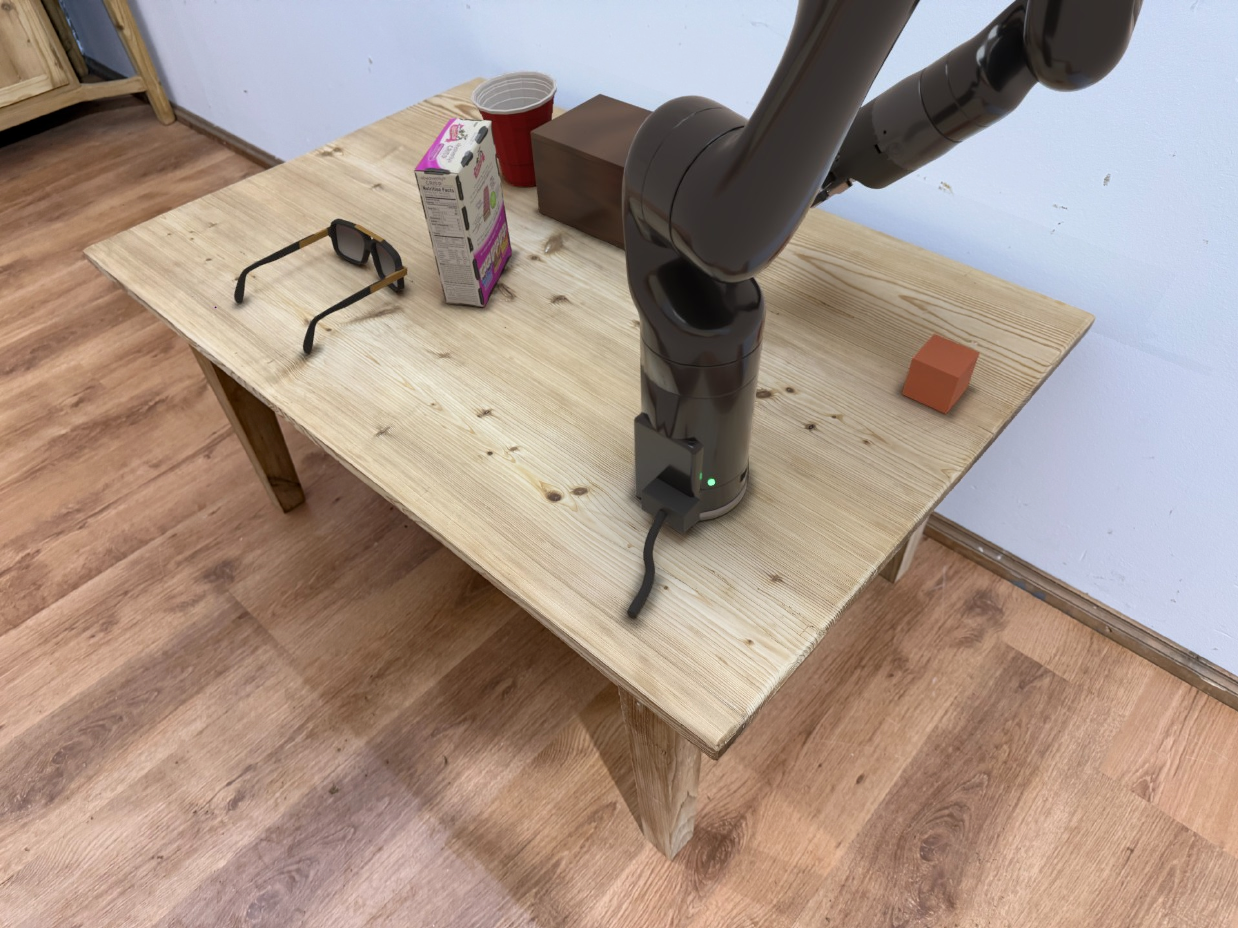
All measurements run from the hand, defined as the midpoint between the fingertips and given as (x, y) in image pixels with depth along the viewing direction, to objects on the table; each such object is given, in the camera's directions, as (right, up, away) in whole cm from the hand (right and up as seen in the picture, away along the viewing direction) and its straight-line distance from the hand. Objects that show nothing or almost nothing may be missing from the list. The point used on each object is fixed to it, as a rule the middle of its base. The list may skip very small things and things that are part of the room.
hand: (780, 204), depth 90 cm
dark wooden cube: (-18, +5, +17) cm, 25 cm away
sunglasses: (-50, -9, +6) cm, 51 cm away
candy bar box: (-33, -6, +8) cm, 35 cm away
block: (+14, -20, -7) cm, 26 cm away
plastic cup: (-30, +11, +24) cm, 40 cm away
